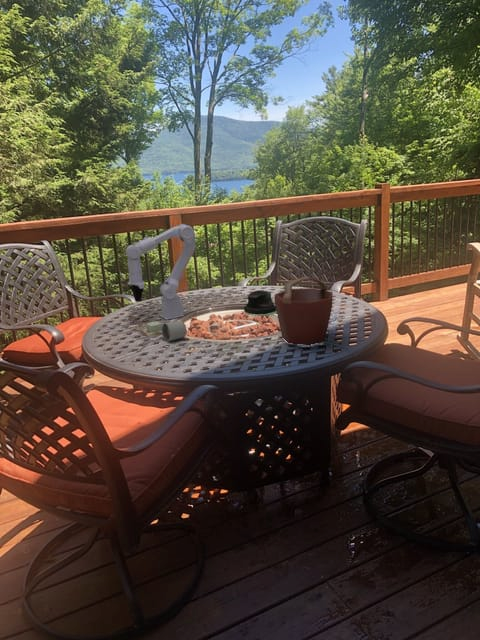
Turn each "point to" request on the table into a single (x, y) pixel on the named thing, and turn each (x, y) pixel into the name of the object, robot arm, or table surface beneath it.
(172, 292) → the robot arm
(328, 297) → the bucket
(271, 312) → the dark fedora hat
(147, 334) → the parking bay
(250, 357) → the table surface
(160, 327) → the sage block
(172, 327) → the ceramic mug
